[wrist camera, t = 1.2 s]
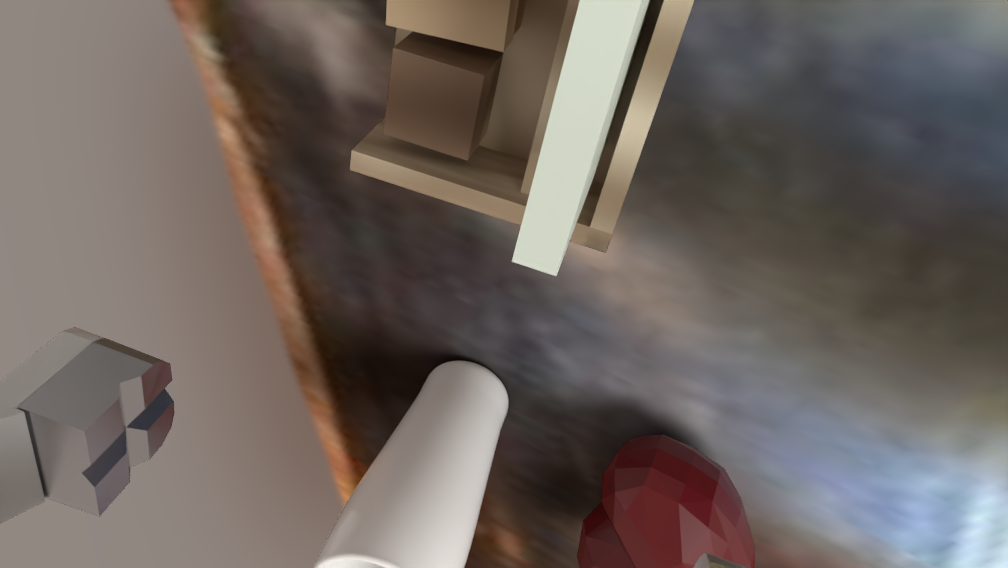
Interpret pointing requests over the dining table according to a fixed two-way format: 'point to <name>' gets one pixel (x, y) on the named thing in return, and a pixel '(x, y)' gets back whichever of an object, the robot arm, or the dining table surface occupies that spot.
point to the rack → (538, 124)
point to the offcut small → (441, 93)
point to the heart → (664, 510)
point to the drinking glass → (425, 478)
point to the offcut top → (458, 20)
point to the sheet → (578, 126)
